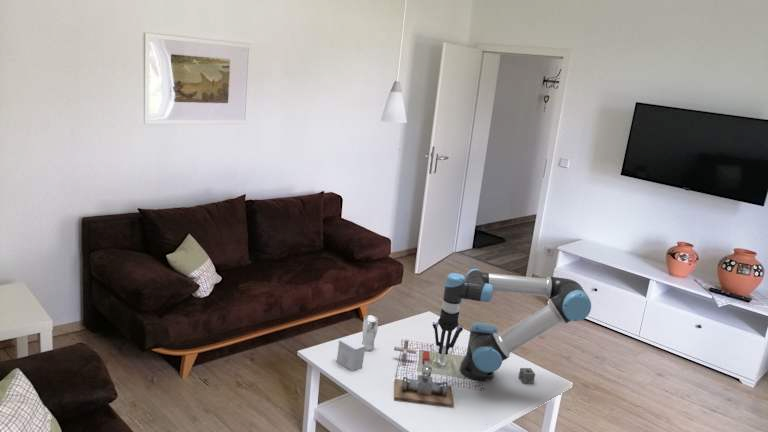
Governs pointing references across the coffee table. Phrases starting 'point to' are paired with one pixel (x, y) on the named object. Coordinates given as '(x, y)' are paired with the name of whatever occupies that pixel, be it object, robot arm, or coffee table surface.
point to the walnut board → (422, 396)
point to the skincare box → (350, 353)
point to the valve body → (424, 386)
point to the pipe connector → (405, 349)
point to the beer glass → (369, 332)
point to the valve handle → (426, 364)
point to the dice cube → (526, 375)
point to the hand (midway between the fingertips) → (441, 360)
